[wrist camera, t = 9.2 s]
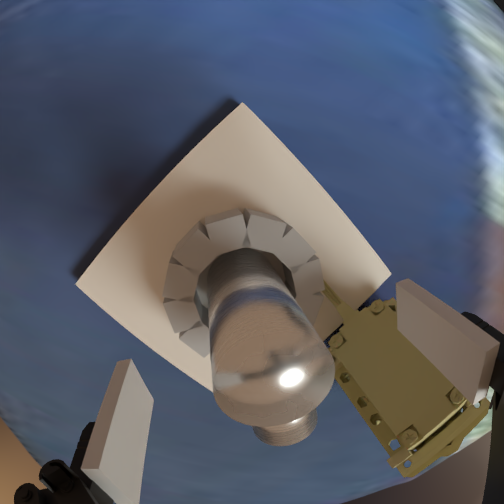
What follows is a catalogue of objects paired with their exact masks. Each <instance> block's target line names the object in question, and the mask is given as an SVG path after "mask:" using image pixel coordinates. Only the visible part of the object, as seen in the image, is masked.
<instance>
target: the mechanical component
mask: <svg viewBox="0 0 504 504" xmlns="http://www.w3.org/2000/svg"><path fill="white" fill-rule="evenodd" d="M323 281H324V279H323ZM324 287H325V290H324V291H322V292H323V293H324V294H325V295H326V297H327V298H328V299H329V300H330V301H331V302H332V304H333V305H334V306H335V307H336V309H337V311H338V312H339V314H340V315H341V317H342V318H343V320H344V321H343V322H342V323H343V324H344V326H342V327H341V328H340V329H339V331H340V332H338V333H337V334H336V335H334V336H332V337H331V339H330V341H329V342H328V344H329V345H330V347H329V348H328V350H329V352H330V353H331V355H332V357H333V360H334V364H335V377H334V378H335V379H336V381H337V382H338V383H339V385H340V386H341V388H342V389H343V391H344V392H345V393H346V395H347V396H348V398H349V399H350V400H351V402H352V403H353V405H354V406H355V407H356V409H357V410H358V412H359V413H360V415H361V416H362V417H363V419H364V420H365V422H366V423H367V424H368V426H369V427H370V429H371V430H372V431H373V433H374V434H375V436H376V437H377V439H378V440H379V441H380V443H381V444H382V446H383V447H384V448H385V450H386V451H387V453H388V454H389V455H390V458H389V459H388V460H387V461H388V463H389V464H390V466H391V467H392V468H395V467H397V469H398V470H399V471H400V473H401V474H402V476H403V477H404V478H405V477H414V476H415V475H416V474H418V473H419V472H421V471H422V470H423V469H425V468H426V467H427V466H429V465H430V464H432V463H433V462H434V461H435V460H437V459H438V458H439V457H441V456H449V455H451V454H452V453H454V452H456V451H457V450H458V449H459V447H460V445H461V443H462V441H463V439H464V437H465V436H466V435H467V434H468V433H469V432H470V431H471V430H472V429H473V428H474V427H475V426H476V425H477V424H478V423H479V422H480V421H481V420H482V419H483V418H484V417H485V416H486V415H487V413H488V409H489V405H490V402H489V401H488V400H487V398H486V397H485V398H483V399H482V400H480V401H479V403H480V407H479V408H475V407H474V405H472V404H471V403H470V402H469V401H468V400H467V399H466V398H465V397H464V396H463V394H462V393H461V392H460V391H459V390H458V389H457V388H456V387H455V386H454V385H453V384H452V383H451V382H450V381H449V380H448V379H447V378H446V377H445V376H444V375H443V374H442V373H441V372H440V371H439V370H438V369H437V368H436V367H435V366H434V365H433V364H432V363H431V362H430V361H429V360H428V359H427V358H426V357H425V356H424V355H423V354H422V353H421V352H420V351H419V350H418V349H417V348H416V347H415V346H414V345H413V344H412V343H411V342H410V341H409V340H408V339H407V338H406V337H405V336H404V335H403V334H402V333H401V332H400V331H399V330H398V329H397V301H396V300H395V299H394V298H393V297H392V298H391V299H390V300H386V301H384V302H382V301H381V300H380V299H378V300H375V301H374V302H373V303H371V306H369V307H368V308H366V307H365V308H364V309H363V310H361V311H360V312H359V311H358V310H356V311H354V310H353V309H352V308H351V307H350V306H349V305H348V304H347V303H346V302H344V301H342V300H341V298H340V297H339V296H338V295H337V294H336V293H335V292H334V291H333V289H332V288H331V287H330V286H329V285H328V284H327V283H326V282H325V281H324ZM462 408H463V413H461V409H462ZM395 439H397V440H398V442H399V444H400V447H399V448H398V449H396V450H395V451H393V450H392V449H391V447H390V446H389V445H390V442H391V440H395ZM415 449H416V450H417V451H415V452H414V451H413V450H415ZM407 460H409V461H410V462H411V463H412V464H411V466H410V467H409V468H406V467H404V463H405V462H406V461H407Z"/></svg>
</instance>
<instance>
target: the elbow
mask: <svg viewBox="0 0 504 504" xmlns="http://www.w3.org/2000/svg"><path fill="white" fill-rule="evenodd" d="M207 297H208V319H209V338H210V354H211V370H212V384H213V393H214V397H215V400H216V402H217V404H218V406H219V407H220V408H221V410H222V411H223V412H224V413H225V414H226V415H228V416H229V417H230V418H232V419H234V420H236V421H238V422H240V423H243V424H246V425H251V426H252V428H253V430H254V433H255V435H256V436H257V437H258V439H260V440H261V441H262V442H264V443H266V444H269V445H273V446H286V445H291V444H294V443H297V442H299V441H301V440H303V439H305V438H306V437H307V436H308V435H309V434H310V433H311V432H312V431H313V430H314V428H315V426H316V424H317V412H316V407H317V406H318V405H319V404H320V403H321V402H322V401H323V400H324V398H325V397H326V396H327V394H328V393H329V391H330V389H331V387H332V384H333V381H334V377H335V364H334V360H333V357H332V355H331V353H330V352H329V350H328V348H327V347H326V345H325V344H324V342H323V341H322V339H321V338H320V336H319V335H318V333H317V332H316V330H315V329H314V327H313V326H312V324H311V323H310V321H309V320H308V318H307V317H306V315H305V314H304V312H303V311H302V309H301V308H300V306H299V305H298V303H297V302H296V300H295V299H294V297H293V296H292V294H291V293H290V291H289V290H288V288H287V287H286V285H285V284H284V282H283V281H282V279H281V278H280V276H279V275H278V273H277V272H276V270H275V269H274V268H273V266H272V265H271V263H270V262H269V260H268V259H267V258H266V257H265V256H264V255H263V254H261V253H260V252H258V251H256V250H253V249H249V248H241V249H237V250H234V251H230V252H227V253H223V254H221V255H220V256H219V257H218V258H217V259H216V260H215V261H214V262H213V263H212V265H211V267H210V269H209V272H208V275H207Z"/></svg>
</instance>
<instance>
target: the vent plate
mask: <svg viewBox="0 0 504 504" xmlns="http://www.w3.org/2000/svg"><path fill="white" fill-rule="evenodd" d="M241 248H249V249H253V250H256V251H258V252H260V253H261V254H263V255H264V256H265V257H266V258H267V259H268V260H269V262H270V263H271V265H272V266H273V268H274V269H275V270H276V272H277V273H278V275H279V276H280V278H281V279H282V281H283V282H284V284H285V285H286V287H287V288H288V290H289V291H290V293H291V294H292V296H293V297H294V299H295V300H296V302H297V303H298V305H299V306H300V308H301V309H302V311H303V312H304V314H305V315H306V317H307V318H308V320H309V321H310V323H311V324H312V326H313V327H314V329H315V330H316V332H317V333H318V335H319V336H320V338H321V339H322V341H324V340H325V339H326V338H327V337H328V336H329V335H330V334H332V333H333V332H334V331H335V330H336V329H337V328H338V327H339V326H340V325H341V324H342V322H343V321H344V320H343V318H342V317H341V315H340V314H339V312H338V311H337V309H336V307H335V306H334V305H333V304H332V302H331V301H330V300H329V299H328V298H327V297H326V295H325V294H324V293H323V292H322V291H324V290H325V287H324V281H325V282H326V283H327V284H328V285H329V286H330V287H331V288H332V289H333V291H334V292H335V293H336V294H337V295H338V296H339V297H340V298H341V300H342V301H344V302H346V303H347V304H348V305H349V306H350V307H351V308H352V309H353V310H354V311H356V310H357V309H358V308H359V307H360V306H361V305H362V304H363V303H364V302H365V301H366V300H367V299H368V298H369V297H370V296H371V295H372V294H373V293H374V292H375V291H376V290H377V289H378V287H379V286H380V285H381V284H382V283H383V282H384V281H385V280H386V279H387V278H388V277H389V276H390V275H391V272H390V271H389V270H388V268H387V267H386V266H385V264H384V263H383V262H382V260H381V259H380V258H379V256H378V255H377V254H376V252H375V251H374V250H373V248H372V247H371V246H370V245H369V243H368V242H367V241H366V240H365V238H364V237H363V236H362V234H361V233H360V232H359V231H358V229H357V228H356V227H355V226H354V225H353V223H352V222H351V221H350V220H349V218H348V217H347V216H346V215H345V213H344V212H343V211H342V210H341V209H340V207H339V206H338V205H337V204H336V203H335V202H334V200H333V199H332V198H331V197H330V196H329V194H328V193H327V192H326V191H325V190H324V189H323V187H322V186H321V185H320V184H319V183H318V182H317V181H316V179H315V178H314V177H313V176H312V175H311V174H310V173H309V172H308V170H307V169H306V168H305V167H304V166H303V165H302V164H301V163H300V162H299V160H298V159H297V158H296V157H295V156H294V155H293V154H292V153H291V152H290V151H289V150H288V148H287V147H286V146H285V145H284V144H283V143H282V142H281V141H280V140H279V139H278V138H277V137H276V136H275V135H274V134H273V133H272V132H271V130H270V129H269V128H268V127H267V126H266V125H265V124H264V123H263V122H262V121H261V120H260V119H259V118H258V117H257V116H256V115H255V114H254V113H253V112H252V111H251V110H250V109H249V108H248V107H247V106H246V105H245V104H244V103H243V102H242V103H241V104H240V105H239V106H238V107H237V108H236V109H235V110H233V111H232V112H231V113H230V114H229V115H228V116H227V117H226V118H225V119H224V120H223V121H221V122H220V123H219V124H218V125H217V126H216V127H215V128H214V129H213V130H212V131H211V132H210V133H209V134H208V135H207V136H206V137H205V138H204V139H203V140H202V141H200V142H199V143H198V144H197V145H196V146H195V147H194V148H193V149H192V150H191V151H190V152H189V153H188V154H187V155H186V156H185V157H184V158H183V159H182V160H181V161H180V162H179V164H178V165H177V166H176V167H175V168H174V169H173V170H172V171H171V172H170V173H169V174H168V175H167V176H166V177H165V178H164V179H163V180H162V181H161V182H160V183H159V185H158V186H157V187H156V188H155V189H154V190H153V191H152V192H151V193H150V194H149V195H148V197H147V198H146V199H145V200H144V201H143V202H142V203H141V204H140V205H139V207H138V208H137V209H136V210H135V211H134V212H133V213H132V215H131V216H130V217H129V218H128V219H127V220H126V222H125V223H124V224H123V225H122V226H121V227H120V229H119V230H118V231H117V232H116V233H115V235H114V236H113V237H112V238H111V239H110V241H109V242H108V243H107V244H106V246H105V247H104V248H103V249H102V250H101V252H100V253H99V254H98V255H97V257H96V258H95V259H94V261H93V262H92V263H91V264H90V266H89V267H88V268H87V270H86V271H85V272H84V273H83V275H82V276H81V277H80V279H79V280H78V281H77V283H76V285H77V286H78V287H79V288H80V289H81V290H82V291H83V292H84V293H85V294H86V295H88V296H89V297H90V298H91V299H92V300H93V301H94V302H95V303H96V304H98V305H99V306H100V307H101V308H102V309H103V310H105V311H106V312H107V313H108V314H109V315H110V316H112V317H113V318H114V319H115V320H116V321H117V322H119V323H120V324H121V325H122V326H124V327H125V328H126V329H127V330H128V331H130V332H131V333H132V334H133V335H135V336H136V337H137V338H138V339H140V340H141V341H142V342H144V343H145V344H146V345H147V346H149V347H150V348H151V349H153V350H154V351H155V352H157V353H158V354H159V355H161V356H162V357H163V358H165V359H166V360H167V361H169V362H170V363H171V364H173V365H174V366H176V367H177V368H178V369H180V370H181V371H183V372H184V373H185V374H187V375H188V376H190V377H191V378H193V379H194V380H196V381H197V382H198V383H200V384H201V385H203V386H204V387H206V388H207V389H209V390H210V391H212V392H213V384H212V370H211V354H210V338H209V319H208V297H207V275H208V272H209V269H210V267H211V265H212V263H213V262H214V261H215V260H216V259H217V258H218V257H219V256H220V255H221V254H223V253H227V252H230V251H234V250H237V249H241ZM323 279H324V281H323Z"/></svg>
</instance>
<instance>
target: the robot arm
mask: <svg viewBox="0 0 504 504" xmlns="http://www.w3.org/2000/svg"><path fill="white" fill-rule="evenodd" d="M494 1H495V2H496V3H497V4H498V5H499V7H500V8H501V9H502V10H503V11H504V0H494ZM396 299H397V329H398V330H399V331H400V332H401V333H402V334H403V335H404V336H405V337H406V338H407V339H408V340H409V341H410V342H411V343H412V344H413V345H414V346H415V347H416V348H417V349H418V350H419V351H420V352H421V353H422V354H423V355H424V356H425V357H426V358H427V359H428V360H429V361H430V362H431V363H432V364H433V365H434V366H435V367H436V368H437V369H438V370H439V371H440V372H441V373H442V374H443V375H444V376H445V377H446V378H447V379H448V380H449V381H450V382H451V383H452V384H453V385H454V386H455V387H456V388H457V389H458V390H459V391H460V392H461V393H462V394H463V396H464V397H465V398H466V399H467V400H468V401H469V402H470V403H471V404H472V405H474V404H476V403H477V402H479V401H480V400H482V399H483V398H485V397H486V396H487V392H488V389H489V386H490V387H492V388H493V389H494V393H493V396H492V399H491V402H490V406H489V409H491V407H492V405H493V413H492V433H491V445H490V455H489V456H490V457H489V464H488V472H487V479H486V485H485V490H484V496H483V501H482V504H504V334H502V333H501V332H499V331H498V330H497V329H495V328H494V327H492V326H491V325H490V326H489V324H488V323H487V322H485V321H483V320H482V319H481V318H479V317H478V316H476V315H475V314H471V313H468V312H463V313H461V314H460V313H458V312H457V311H455V310H454V309H453V308H451V307H450V306H448V305H447V304H445V303H444V302H443V301H441V300H440V299H438V298H437V297H435V296H434V295H432V294H431V293H429V292H428V291H426V290H425V289H423V288H422V287H420V286H419V285H417V284H416V283H414V282H413V281H411V280H410V279H405V280H402V281H400V282H397V283H396ZM153 402H154V400H153V398H152V396H151V394H150V393H149V391H148V389H147V387H146V385H145V384H144V382H143V380H142V378H141V376H140V374H139V373H138V371H137V369H136V367H135V365H134V363H133V361H132V359H127V360H122V361H118V362H117V364H116V367H115V369H114V372H113V375H112V377H111V380H110V383H109V385H108V388H107V391H106V394H105V396H104V399H103V402H102V405H101V408H100V410H99V413H98V416H97V419H96V422H89V423H88V424H87V426H86V427H85V428H84V430H83V431H82V434H81V436H80V439H79V440H80V441H79V442H78V445H77V449H76V451H75V454H74V457H73V460H72V463H71V466H70V468H69V467H68V466H67V465H66V464H65V463H64V462H63V461H62V460H59V459H57V460H51V461H49V462H47V463H46V464H45V465H44V466H43V467H42V468H41V470H40V473H39V480H40V481H41V482H42V483H43V484H44V485H45V486H46V487H47V489H42V490H39V489H38V488H37V487H36V486H35V485H34V484H31V483H25V484H23V485H21V486H20V487H19V488H18V489H17V490H16V492H15V495H14V504H113V501H114V502H115V503H117V504H139V499H140V490H141V482H142V474H143V467H144V459H145V452H146V445H147V439H148V432H149V426H150V420H151V414H152V408H153Z"/></svg>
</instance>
